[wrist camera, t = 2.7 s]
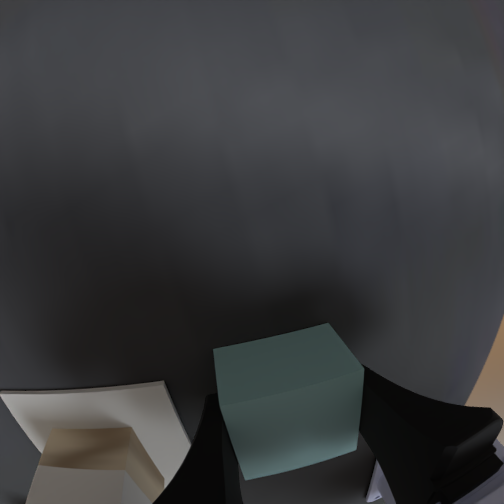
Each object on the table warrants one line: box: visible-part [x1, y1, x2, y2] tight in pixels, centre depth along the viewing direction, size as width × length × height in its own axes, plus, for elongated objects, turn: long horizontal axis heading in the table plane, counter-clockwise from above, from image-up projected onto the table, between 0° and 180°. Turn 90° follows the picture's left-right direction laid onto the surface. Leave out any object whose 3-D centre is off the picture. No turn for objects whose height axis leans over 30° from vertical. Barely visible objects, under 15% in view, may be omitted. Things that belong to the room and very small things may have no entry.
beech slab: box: [38, 427, 165, 503], centre depth 12 cm, size 5×5×3 cm
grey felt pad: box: [0, 381, 191, 489], centre depth 13 cm, size 10×10×1 cm
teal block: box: [213, 323, 364, 480], centre depth 12 cm, size 5×5×4 cm
